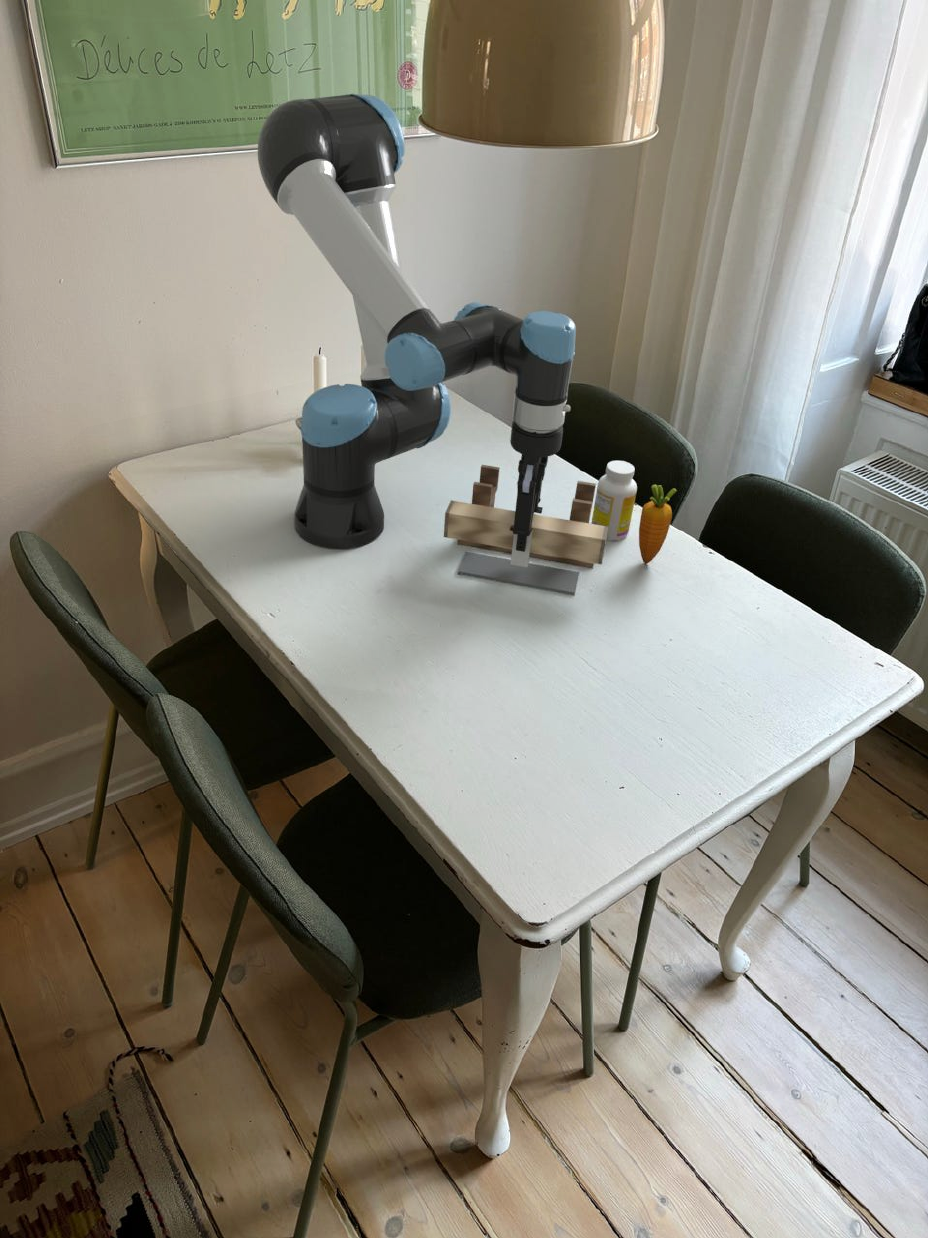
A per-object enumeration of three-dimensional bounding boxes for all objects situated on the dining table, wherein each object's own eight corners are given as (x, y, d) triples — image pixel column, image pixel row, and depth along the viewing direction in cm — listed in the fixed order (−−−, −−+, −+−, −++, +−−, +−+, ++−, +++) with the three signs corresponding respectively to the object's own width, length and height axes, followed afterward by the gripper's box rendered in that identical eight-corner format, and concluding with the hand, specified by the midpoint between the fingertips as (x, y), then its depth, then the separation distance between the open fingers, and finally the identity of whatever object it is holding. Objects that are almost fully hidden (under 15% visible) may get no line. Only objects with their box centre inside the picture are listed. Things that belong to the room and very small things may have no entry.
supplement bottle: (627, 524, 173) (640, 459, 165) (628, 544, 168) (642, 478, 160) (589, 519, 173) (601, 455, 165) (589, 539, 168) (601, 474, 160)
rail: (443, 537, 154) (445, 512, 152) (449, 524, 157) (450, 500, 155) (601, 564, 151) (605, 539, 148) (604, 550, 154) (608, 526, 151)
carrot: (664, 560, 164) (682, 482, 155) (655, 575, 161) (674, 496, 152) (636, 552, 166) (652, 474, 157) (627, 566, 162) (643, 487, 153)
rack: (456, 547, 163) (461, 481, 155) (464, 526, 168) (470, 462, 161) (592, 571, 160) (604, 506, 153) (596, 550, 165) (608, 485, 158)
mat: (457, 574, 157) (458, 571, 156) (465, 554, 162) (465, 551, 161) (574, 595, 154) (574, 592, 154) (578, 575, 159) (579, 571, 159)
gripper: (555, 452, 134) (536, 590, 148) (571, 402, 148) (552, 533, 162) (502, 444, 135) (488, 581, 149) (522, 395, 149) (508, 525, 163)
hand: (521, 556), depth 156 cm, fingers closed on rail, 4 cm apart
